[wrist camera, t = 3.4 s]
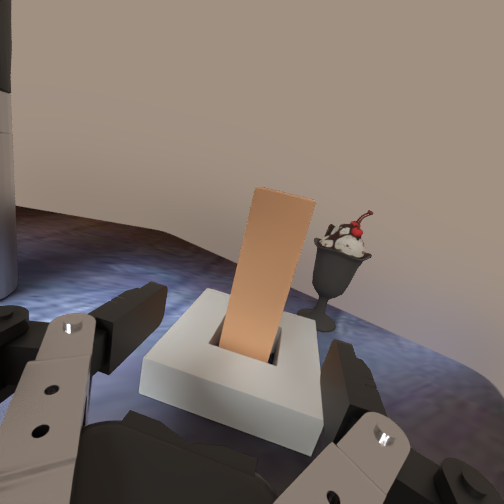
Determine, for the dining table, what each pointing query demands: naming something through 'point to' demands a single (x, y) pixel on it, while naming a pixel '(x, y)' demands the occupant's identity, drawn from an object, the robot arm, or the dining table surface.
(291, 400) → the socket block
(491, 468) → the dining table surface
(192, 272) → the dining table surface
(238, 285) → the peg
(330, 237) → the sundae
